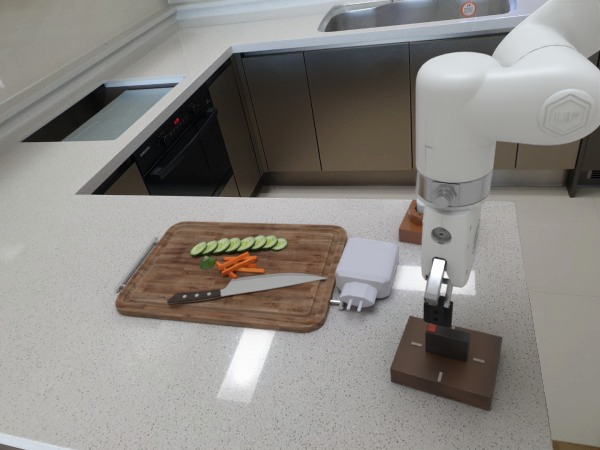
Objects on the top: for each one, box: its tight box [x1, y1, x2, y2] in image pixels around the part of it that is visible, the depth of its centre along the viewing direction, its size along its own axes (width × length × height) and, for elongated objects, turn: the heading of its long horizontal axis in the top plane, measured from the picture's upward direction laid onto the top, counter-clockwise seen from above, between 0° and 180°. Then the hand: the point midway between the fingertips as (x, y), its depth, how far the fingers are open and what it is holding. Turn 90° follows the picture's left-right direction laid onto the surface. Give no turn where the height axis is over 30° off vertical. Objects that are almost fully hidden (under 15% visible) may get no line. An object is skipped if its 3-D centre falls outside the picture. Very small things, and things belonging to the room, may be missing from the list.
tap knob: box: [425, 323, 471, 362], centre depth 62 cm, size 6×2×4 cm, turn 64°
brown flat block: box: [389, 315, 503, 412], centre depth 64 cm, size 13×10×3 cm
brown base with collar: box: [398, 199, 423, 246], centre depth 87 cm, size 12×10×5 cm
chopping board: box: [114, 220, 348, 334], centre depth 88 cm, size 45×27×3 cm, turn 75°
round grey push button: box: [416, 198, 424, 214], centre depth 86 cm, size 4×4×2 cm
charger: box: [335, 237, 400, 313], centre depth 78 cm, size 5×9×15 cm
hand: (446, 294), depth 58 cm, fingers open, 9 cm apart
